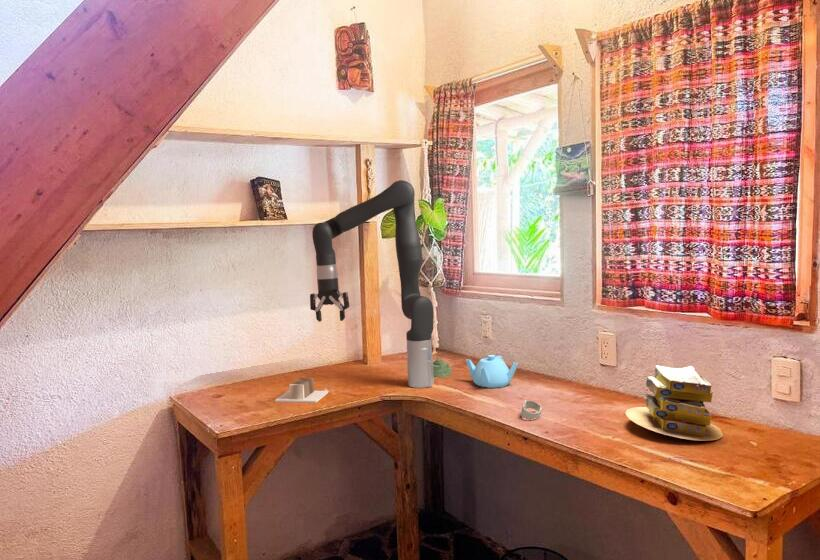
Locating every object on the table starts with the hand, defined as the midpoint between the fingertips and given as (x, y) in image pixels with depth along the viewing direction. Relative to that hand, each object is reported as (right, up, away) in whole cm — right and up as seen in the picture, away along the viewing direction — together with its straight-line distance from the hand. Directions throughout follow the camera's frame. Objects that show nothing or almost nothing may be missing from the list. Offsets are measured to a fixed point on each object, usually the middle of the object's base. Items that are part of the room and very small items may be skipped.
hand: (331, 320), depth 226 cm
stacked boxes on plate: (+102, -27, -55) cm, 119 cm away
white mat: (-9, -26, -9) cm, 29 cm away
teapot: (+59, -23, 0) cm, 64 cm away
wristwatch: (+66, -27, -39) cm, 81 cm away
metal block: (-8, -23, -4) cm, 24 cm away
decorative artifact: (+40, -23, +17) cm, 49 cm away
